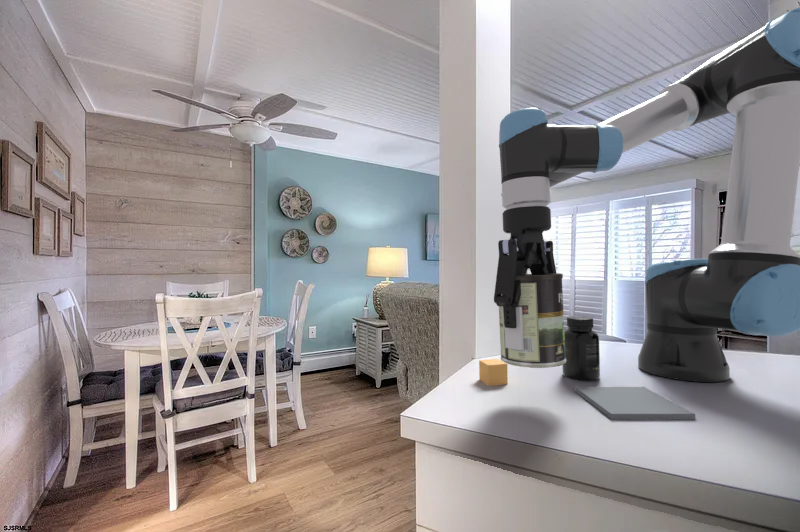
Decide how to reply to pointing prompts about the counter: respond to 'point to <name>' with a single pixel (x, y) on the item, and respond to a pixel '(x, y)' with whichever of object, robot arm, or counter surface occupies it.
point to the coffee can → (538, 323)
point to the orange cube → (493, 372)
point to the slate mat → (633, 403)
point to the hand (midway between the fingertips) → (531, 342)
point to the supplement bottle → (581, 350)
